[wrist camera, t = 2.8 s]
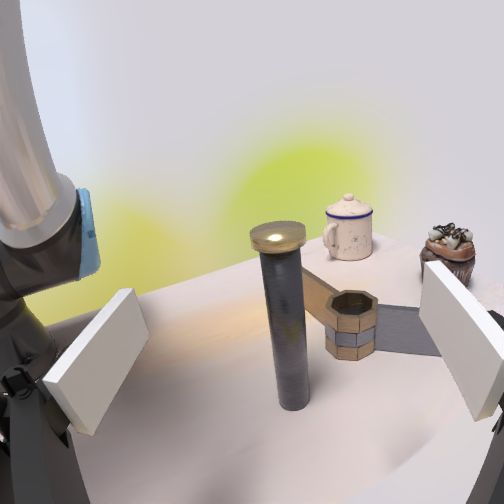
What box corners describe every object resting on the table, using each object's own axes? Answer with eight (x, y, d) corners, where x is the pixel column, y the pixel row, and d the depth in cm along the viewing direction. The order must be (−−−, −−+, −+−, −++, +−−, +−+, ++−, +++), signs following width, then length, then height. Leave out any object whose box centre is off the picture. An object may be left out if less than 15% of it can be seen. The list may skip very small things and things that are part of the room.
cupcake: (479, 282, 42) (487, 224, 38) (454, 306, 38) (464, 241, 34) (436, 265, 50) (440, 212, 46) (406, 285, 46) (409, 225, 43)
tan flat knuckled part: (275, 300, 48) (271, 265, 46) (308, 289, 50) (306, 255, 48) (345, 366, 33) (347, 324, 30) (383, 346, 34) (387, 305, 32)
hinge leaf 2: (321, 355, 35) (320, 314, 33) (334, 327, 40) (333, 288, 38) (468, 372, 27) (482, 330, 24) (465, 340, 31) (476, 300, 29)
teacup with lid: (347, 240, 67) (344, 187, 62) (381, 250, 60) (381, 192, 55) (308, 259, 61) (303, 200, 57) (344, 272, 54) (342, 206, 49)
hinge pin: (268, 395, 31) (241, 229, 24) (301, 381, 32) (288, 217, 25) (285, 420, 27) (263, 244, 20) (321, 404, 28) (315, 229, 22)
